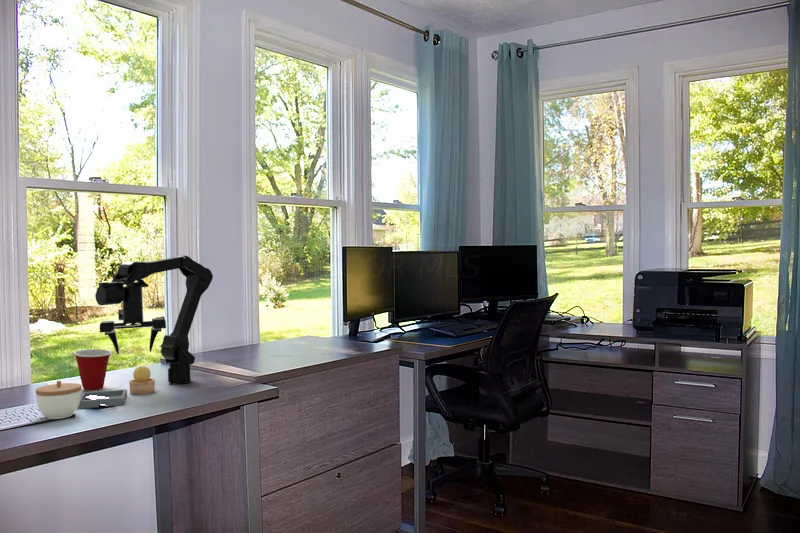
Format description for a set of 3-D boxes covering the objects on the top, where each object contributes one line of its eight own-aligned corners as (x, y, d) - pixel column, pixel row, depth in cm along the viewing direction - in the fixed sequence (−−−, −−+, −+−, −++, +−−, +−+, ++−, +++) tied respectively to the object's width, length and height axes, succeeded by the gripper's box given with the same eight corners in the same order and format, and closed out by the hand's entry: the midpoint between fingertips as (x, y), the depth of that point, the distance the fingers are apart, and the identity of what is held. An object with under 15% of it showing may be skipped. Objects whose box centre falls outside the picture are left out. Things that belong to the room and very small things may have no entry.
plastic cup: (94, 393, 197) (93, 354, 197) (66, 391, 200) (65, 353, 200) (120, 386, 207) (119, 349, 207) (93, 384, 210) (92, 347, 210)
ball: (151, 380, 201) (150, 364, 201) (150, 383, 196) (150, 367, 196) (134, 381, 199) (133, 365, 199) (132, 384, 195) (132, 368, 195)
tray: (127, 395, 193) (127, 389, 193) (123, 405, 182) (123, 398, 181) (83, 399, 189) (83, 392, 189) (76, 408, 178) (76, 401, 178)
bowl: (155, 388, 203) (155, 377, 202) (154, 393, 196) (154, 381, 196) (130, 390, 200) (130, 379, 200) (128, 395, 193) (128, 383, 193)
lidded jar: (50, 423, 163) (50, 387, 163) (28, 418, 168) (27, 382, 168) (90, 414, 172) (89, 379, 172) (67, 409, 178) (66, 375, 177)
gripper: (163, 298, 209) (165, 346, 209) (100, 302, 202) (102, 351, 202) (165, 301, 198) (166, 351, 199) (98, 305, 191) (100, 357, 192)
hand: (134, 352), depth 198 cm, fingers open, 9 cm apart
